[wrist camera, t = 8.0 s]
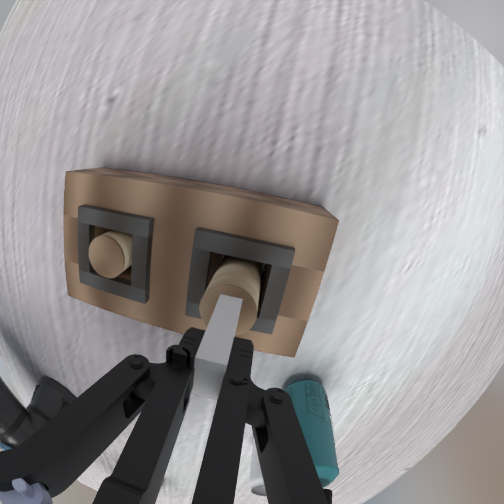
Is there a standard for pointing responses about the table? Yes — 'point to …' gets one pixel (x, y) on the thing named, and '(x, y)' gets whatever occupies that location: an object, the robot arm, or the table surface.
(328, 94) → the table surface
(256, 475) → the can
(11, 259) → the table surface
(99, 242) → the peg
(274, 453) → the robot arm
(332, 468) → the beverage bottle
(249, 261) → the peg
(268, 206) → the walnut block
